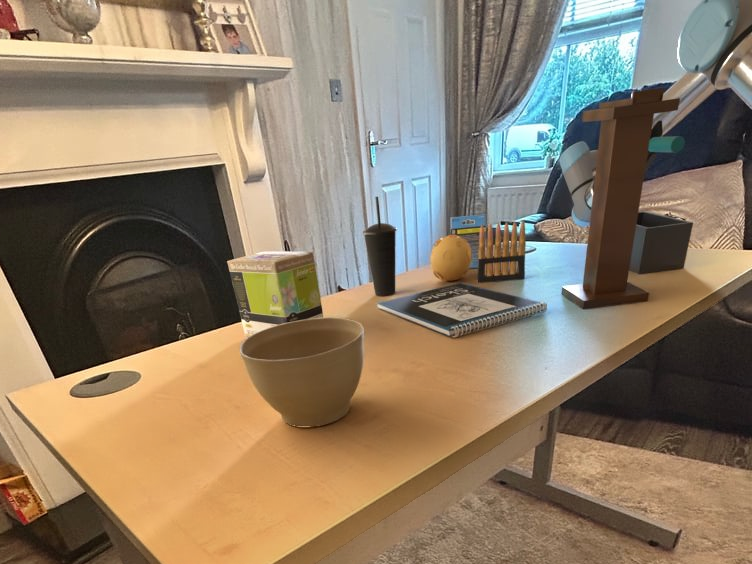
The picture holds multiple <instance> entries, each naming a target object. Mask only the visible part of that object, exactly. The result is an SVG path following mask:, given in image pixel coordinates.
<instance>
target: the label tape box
mask: <svg viewBox="0 0 752 564" xmlns="http://www.w3.org/2000/svg"><path fill="white" fill-rule="evenodd" d="M467 221H469V222H473V223H464V222H467ZM486 221H487V214H486V213H483V214H475V215H474V214H473V215H463V216H451V217H450V230H449V231H450V234H449V235H457V236H459V237H461V238H463V239H465V240H466V241H467V242H468V244H469V246H470V248H471V250H472V261H471V265H470V267H469V269H470V268H471V269H478V246H479V234H480V228H481V225H482V224H483V227H484V232H485V245H487V224H486V223H487V222H486ZM463 223H464V224H463ZM485 267H486V264H485ZM469 269H468V270H469Z"/></svg>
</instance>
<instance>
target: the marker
mask: <svg viewBox="0 0 752 564" xmlns="http://www.w3.org/2000/svg"><path fill="white" fill-rule="evenodd" d="M685 143H686V141H685V138H684V137H683V136H682V135H681V136H679V135H678V136H662V137H653V138H651V139H650V142H649V148H648V151H650V152H658V153H679V152H681V150H683V148H684V146H685Z"/></svg>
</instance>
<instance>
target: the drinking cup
mask: <svg viewBox="0 0 752 564" xmlns="http://www.w3.org/2000/svg"><path fill="white" fill-rule="evenodd" d="M374 199H375V209H376V210H375V211H376V220H377V223H375V224H372V225H370V226H369V227H367V228H366V229H365V230H363V231H362V235H363V236H364V241H365V245H366V251H367V256H368V262H369V267H370V272H371V278H372V283H373V289H374V294H375V296H377V297H388V296H392V295H395V294H396V291H397V288H396V287H397V286H396V285H397V282H396V281H397V280H396V277H397V276H396V275H397V272H396V271H397V270H396V267H397V264H396V263H397V261H396V257H397V254H396V253H397V240H396V239H397V236H396V235H397V231H398V228H397V227H396V226H394V225H392V224H389V223H384V222H381V210H380V199H379V196H375V197H374Z"/></svg>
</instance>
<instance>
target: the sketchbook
mask: <svg viewBox="0 0 752 564" xmlns="http://www.w3.org/2000/svg"><path fill="white" fill-rule="evenodd" d="M376 305H377V309H380V310H382V311H384V312H387V313H389V314H391V315H394V316H397V317H399V318H402V319H405V320H407V321H410V322H412V323H414V324H417V325H420V326H421V327H422V326H423V327H425V328H427V329H430V330H433V331H435V332H437V333H440V334H443V335H444V336H448V337H452V338H454V339H455V338H458V337H461V336H465V335H469V334H473V333H474V332H475V333H477V332H479V331H482V330H486V329H490V328H494V327H498V326H502V325H505V324H508V323H513V322H516V321H520V320H523V319H526V318H527V319H528V318H530V317H531V318H532V317H534V316H536V315H537V316H538V315H541V314H544V313H546V312H547V310H548V303H545V302H543V301H538V300H533V299H529V298H525V297H521V296H517V295H513V294H509V293H504V292H501V291H496V290H492V289H488V288H484V287H480V286H475V285H472V284H468V283H463V282H457V283H453V284H449V285H446V286H442V287H436V288H432V289H429V290H425V291H421V292H416V293H411V294H408V295H404V296H399V297H396V298H391V299H387V300H384V301H379V302H377V303H376Z"/></svg>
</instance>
